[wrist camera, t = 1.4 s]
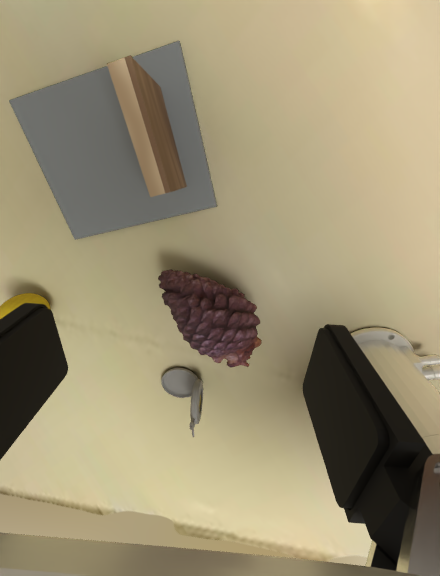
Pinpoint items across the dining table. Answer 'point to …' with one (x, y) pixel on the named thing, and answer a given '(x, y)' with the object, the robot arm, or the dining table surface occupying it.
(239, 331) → the pine cone
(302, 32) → the dining table surface
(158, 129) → the wooden block
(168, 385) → the pocket watch
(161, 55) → the mat
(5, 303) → the lemon
